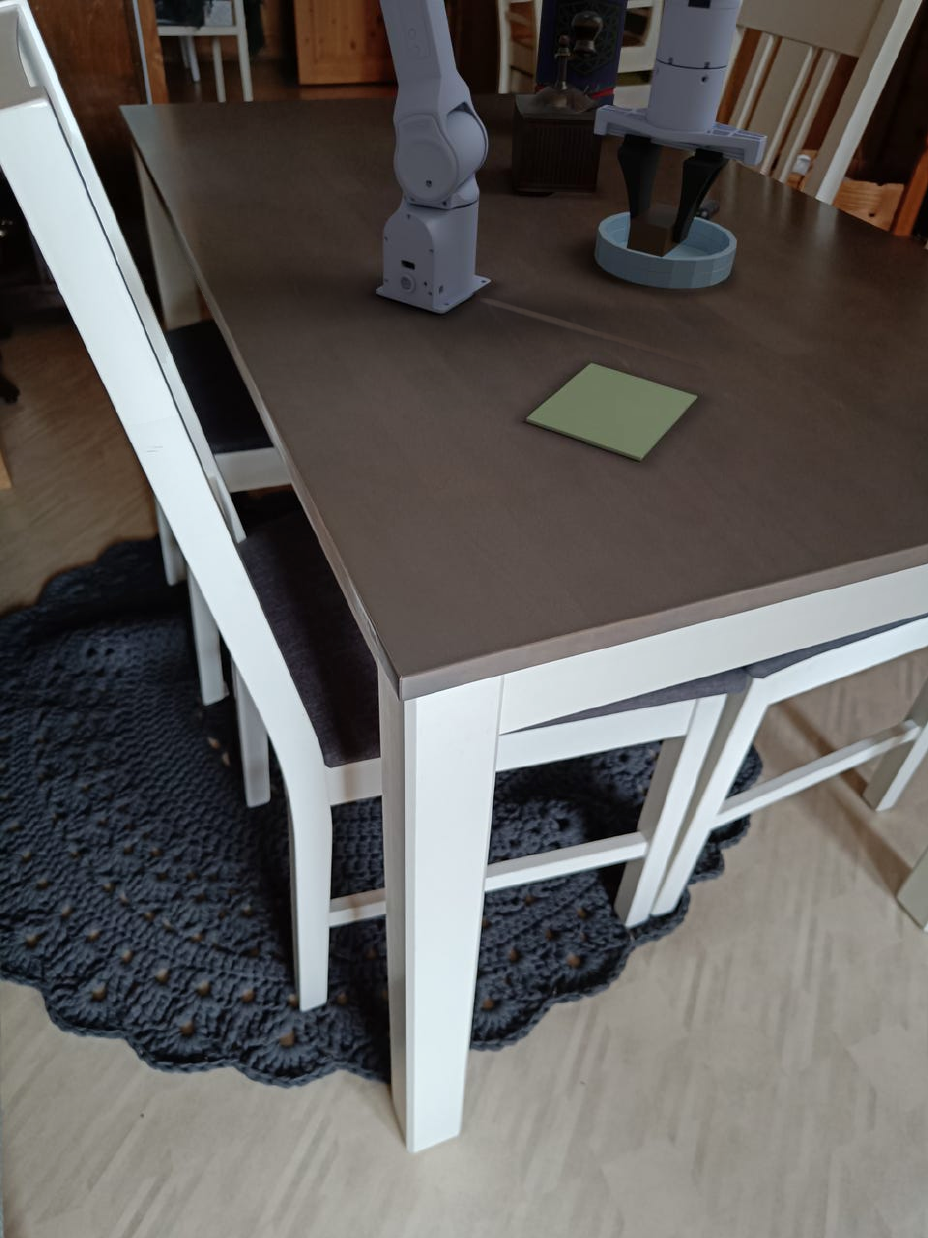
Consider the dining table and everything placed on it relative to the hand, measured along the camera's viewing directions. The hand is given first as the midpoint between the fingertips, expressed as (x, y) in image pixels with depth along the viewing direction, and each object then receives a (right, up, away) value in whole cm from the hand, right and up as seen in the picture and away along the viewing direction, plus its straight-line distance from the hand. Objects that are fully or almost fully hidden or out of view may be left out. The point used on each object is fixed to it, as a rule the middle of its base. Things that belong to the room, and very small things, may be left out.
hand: (658, 234), depth 82 cm
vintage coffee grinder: (-6, +24, +39) cm, 46 cm away
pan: (+4, +4, +17) cm, 18 cm away
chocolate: (0, -1, +1) cm, 1 cm away
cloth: (-5, -18, -7) cm, 20 cm away
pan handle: (+10, +11, +23) cm, 27 cm away
